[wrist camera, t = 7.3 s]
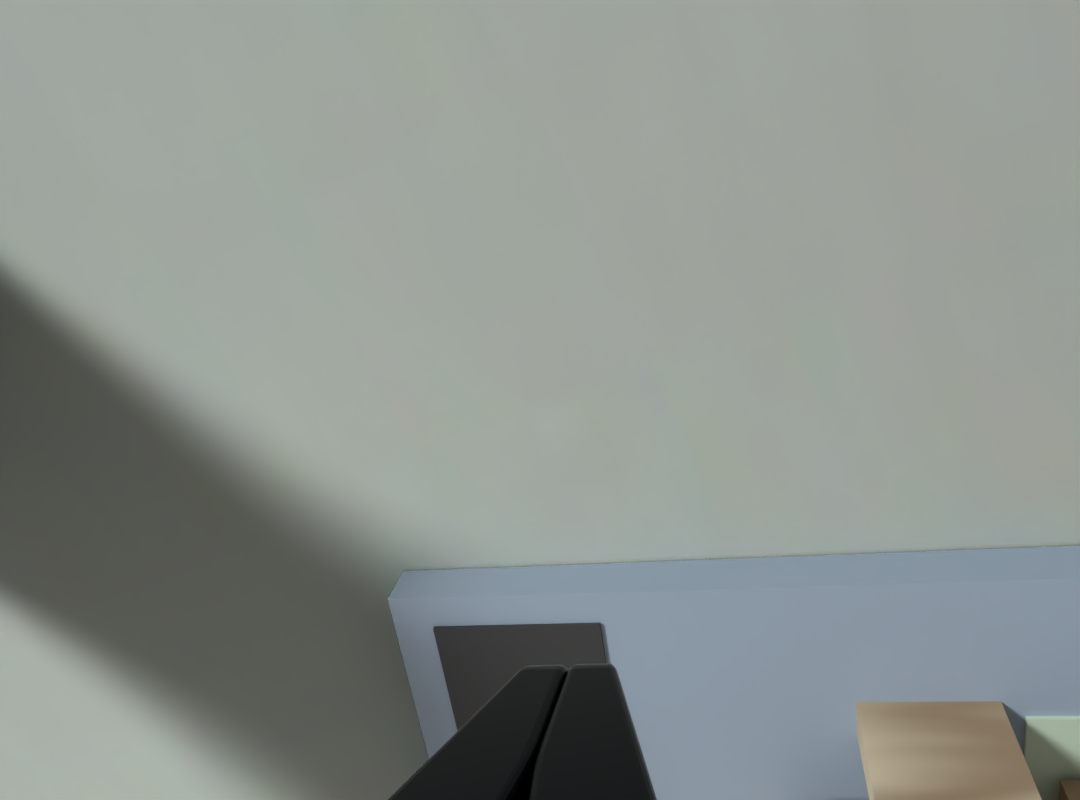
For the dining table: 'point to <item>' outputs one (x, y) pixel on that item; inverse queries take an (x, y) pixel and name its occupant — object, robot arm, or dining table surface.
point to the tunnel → (941, 752)
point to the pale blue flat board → (764, 655)
